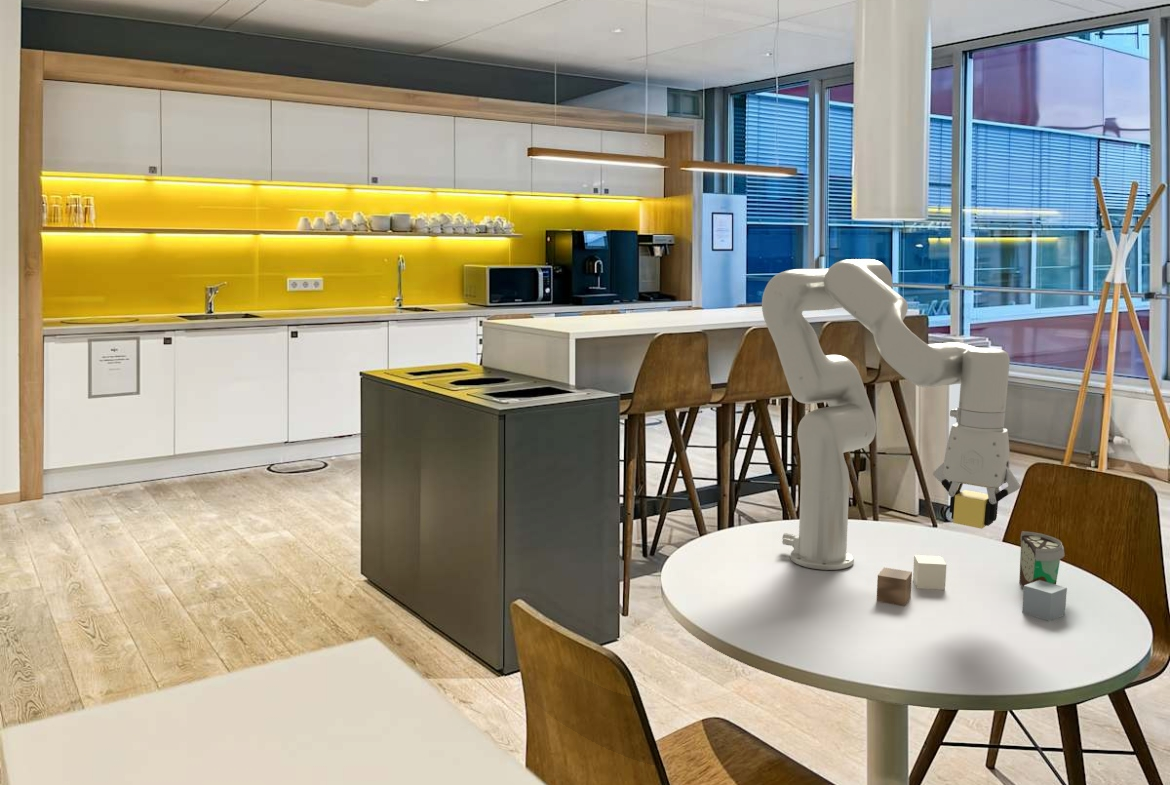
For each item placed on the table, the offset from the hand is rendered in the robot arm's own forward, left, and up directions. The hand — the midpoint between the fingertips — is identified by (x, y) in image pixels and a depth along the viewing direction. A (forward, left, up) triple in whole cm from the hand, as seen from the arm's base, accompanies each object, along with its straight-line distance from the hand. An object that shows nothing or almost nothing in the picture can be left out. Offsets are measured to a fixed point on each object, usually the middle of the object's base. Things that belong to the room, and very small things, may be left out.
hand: (972, 519), depth 173 cm
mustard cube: (0, 0, -1) cm, 1 cm away
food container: (+9, +16, -16) cm, 24 cm away
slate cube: (+12, +5, -16) cm, 20 cm away
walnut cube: (-11, -5, -16) cm, 20 cm away
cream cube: (-9, +7, -16) cm, 20 cm away
